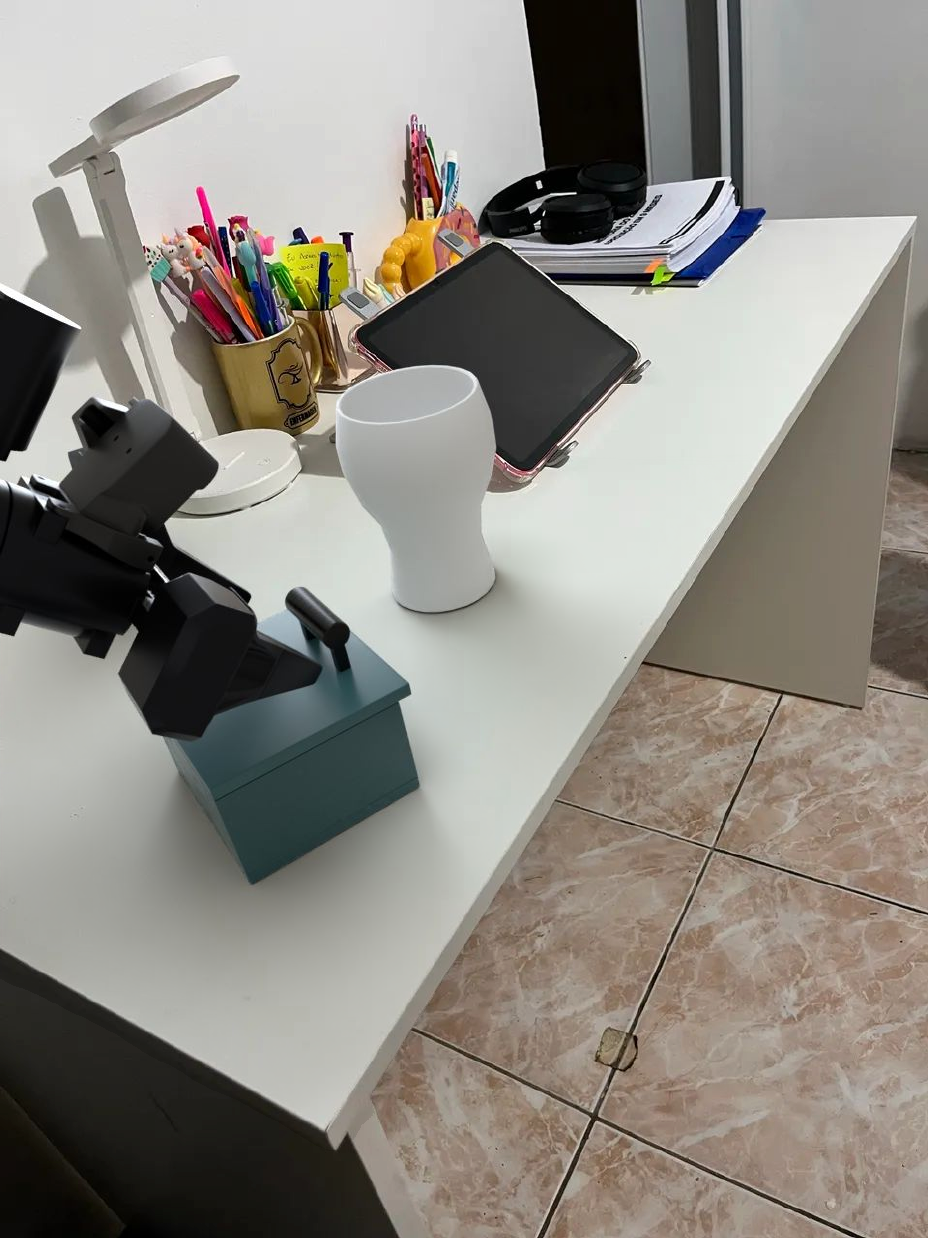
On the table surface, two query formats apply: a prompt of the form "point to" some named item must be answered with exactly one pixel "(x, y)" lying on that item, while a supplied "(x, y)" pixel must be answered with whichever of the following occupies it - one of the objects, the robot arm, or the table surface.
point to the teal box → (309, 793)
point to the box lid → (296, 700)
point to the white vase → (423, 478)
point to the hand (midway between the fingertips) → (280, 635)
